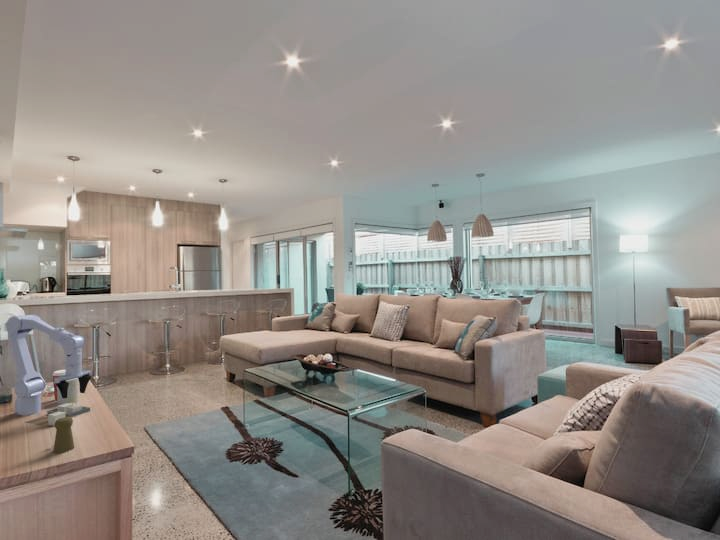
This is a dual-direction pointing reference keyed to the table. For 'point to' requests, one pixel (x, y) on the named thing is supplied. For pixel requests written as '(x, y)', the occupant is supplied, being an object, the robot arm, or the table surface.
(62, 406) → the cream matte cube
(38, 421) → the brown flat slab
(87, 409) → the bin
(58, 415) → the off-white block
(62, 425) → the cork
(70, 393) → the cup
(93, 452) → the table surface
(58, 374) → the paper cup
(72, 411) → the off-white stacked cube
